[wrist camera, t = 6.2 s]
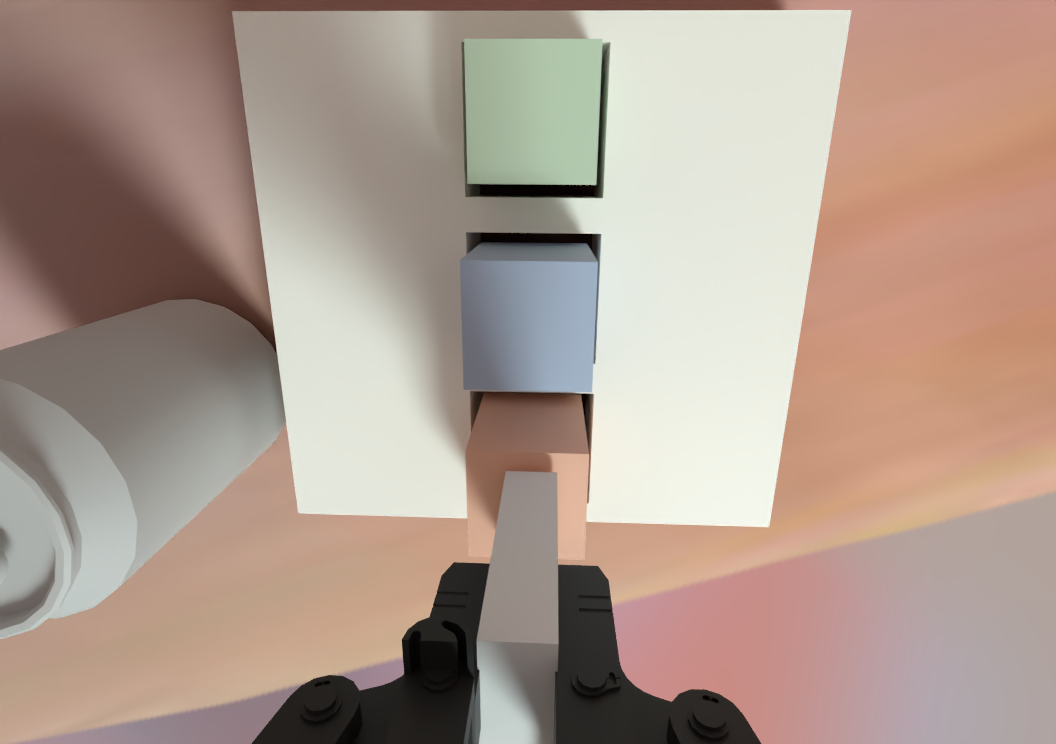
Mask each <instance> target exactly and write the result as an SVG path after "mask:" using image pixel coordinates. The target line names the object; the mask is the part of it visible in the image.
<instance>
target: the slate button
mask: <svg viewBox="0 0 1056 744" xmlns="http://www.w3.org/2000/svg"><path fill="white" fill-rule="evenodd" d="M597 273H598V261H597V260H596V258H595V256H594V255H593V253H592V251H591V250H590V248H589V246H588V244H587V243H519V242H481V243H480V244H479V245H478V246H477V247H475V248H474V249H473V250H472V251H471V252H469V253H468V254H467V255H466V256H464V257H463V258H462V259H461V260H460V280H461V316H462V351H463V387H464V390H501V391H548V392H592V382H593V361H594V339H595V317H596V295H597Z"/></svg>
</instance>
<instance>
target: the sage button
mask: <svg viewBox="0 0 1056 744" xmlns="http://www.w3.org/2000/svg"><path fill="white" fill-rule="evenodd" d="M602 41H603V39H464V54H465V97H466V140H467V183H468V184H537V185H596V180H597V157H598V134H599V111H600V87H601V64H602Z"/></svg>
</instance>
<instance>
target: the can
mask: <svg viewBox="0 0 1056 744" xmlns="http://www.w3.org/2000/svg"><path fill="white" fill-rule="evenodd" d="M285 423H286V416H285V409H284V401H283V394H282V386H281V378H280V371H279V363H278V356H277V354H276V352H275V350H274V348H273V346H272V345H271V344H270V343H269V341H268V340H267V339H266V338H265V337H264V336H263V335H262V334H261V333H260V332H259V331H258V330H257V329H256V328H255V327H254V326H253V325H252V324H251V323H250V322H249V321H247V320H245V319H244V318H242V317H240V316H239V315H237V314H235V313H234V312H232V311H231V310H229V309H227V308H226V307H223V306H220V305H216V304H212V303H209V302H205V301H201V300H198V299H180V300H166V301H162V302H159V303H156V304H152V305H149V306H146V307H142V308H139V309H136V310H132V311H129V312H126V313H122V314H119V315H116V316H112V317H109V318H106V319H103V320H99V321H96V322H93V323H89V324H86V325H83V326H79V327H76V328H73V329H69V330H66V331H63V332H59V333H56V334H53V335H49V336H46V337H43V338H39V339H36V340H33V341H30V342H26V343H23V344H20V345H16V346H13V347H10V348H6V349H3V350H0V639H4V638H7V637H10V636H14V635H17V634H20V633H23V632H26V631H29V630H32V629H35V628H36V627H38V626H39V625H40V624H41V623H43V622H44V621H45V620H46V619H47V618H62V617H65V616H68V615H71V614H75V613H78V612H81V611H84V610H87V609H90V608H93V607H95V606H96V605H97V604H99V603H100V602H101V601H102V600H104V599H105V598H106V597H107V596H109V595H110V594H111V593H112V592H114V591H115V590H116V589H117V588H119V587H120V586H121V585H122V584H123V583H124V582H125V581H126V580H127V579H128V578H130V577H131V576H132V575H133V574H134V573H135V572H136V571H137V570H138V569H139V568H140V567H141V566H142V565H143V564H145V563H146V562H147V561H148V560H149V559H150V558H151V557H152V556H153V555H154V554H155V553H156V552H157V551H158V550H160V549H161V548H162V547H163V546H164V545H165V544H166V543H167V542H168V541H169V540H170V539H171V538H172V537H173V536H175V535H176V534H177V533H178V532H179V531H180V530H181V529H182V528H183V527H184V526H185V525H186V524H187V523H188V522H190V521H191V520H192V519H193V518H194V517H195V516H196V515H197V514H198V513H199V512H200V511H201V510H202V509H203V508H205V507H206V506H207V505H208V504H209V503H210V502H211V501H212V500H213V499H214V498H215V497H216V496H217V495H218V494H220V493H221V492H222V491H223V490H224V489H225V488H226V487H227V486H228V485H229V484H230V483H231V482H232V481H233V480H235V479H236V478H237V477H238V476H239V475H240V474H241V473H242V472H243V471H244V470H245V469H246V468H247V467H248V466H250V465H251V464H252V463H253V462H254V461H255V460H256V459H257V458H258V457H259V456H260V455H261V454H262V453H263V452H265V451H266V450H267V449H268V448H269V447H270V446H271V445H272V444H273V443H274V442H275V440H276V439H277V437H278V435H279V433H280V432H281V430H282V428H283V426H284V425H285Z"/></svg>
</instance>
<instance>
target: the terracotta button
mask: <svg viewBox="0 0 1056 744" xmlns="http://www.w3.org/2000/svg"><path fill="white" fill-rule="evenodd" d="M465 458H466V493H467V529H468V556H478V557H491V554H492V548H493V542H494V537H495V531H496V525H497V519H498V513H499V508H500V502H501V496H502V490H503V484H504V479H505V473H506V471H525V472H557V505H558V559H574V560H584V558H585V536H586V514H587V492H588V470H589V449H588V442H587V435H586V427H585V420H584V413H583V406H582V399H581V394H548V393H501V392H484V395H483V398H482V401H481V404H480V407H479V410H478V413H477V417H476V420H475V423H474V426H473V429H472V432H471V435H470V438H469V441H468V444H467V447H466V450H465Z"/></svg>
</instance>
